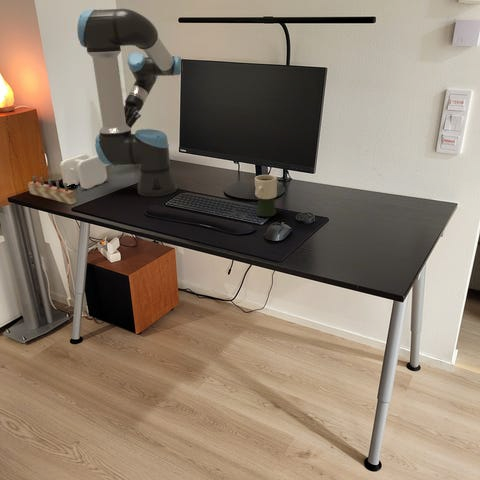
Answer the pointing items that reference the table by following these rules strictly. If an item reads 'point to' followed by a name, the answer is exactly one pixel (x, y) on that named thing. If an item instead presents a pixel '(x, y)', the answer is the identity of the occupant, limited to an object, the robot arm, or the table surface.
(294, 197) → the table surface
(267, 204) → the character mug
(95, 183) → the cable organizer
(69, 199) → the comb rail
